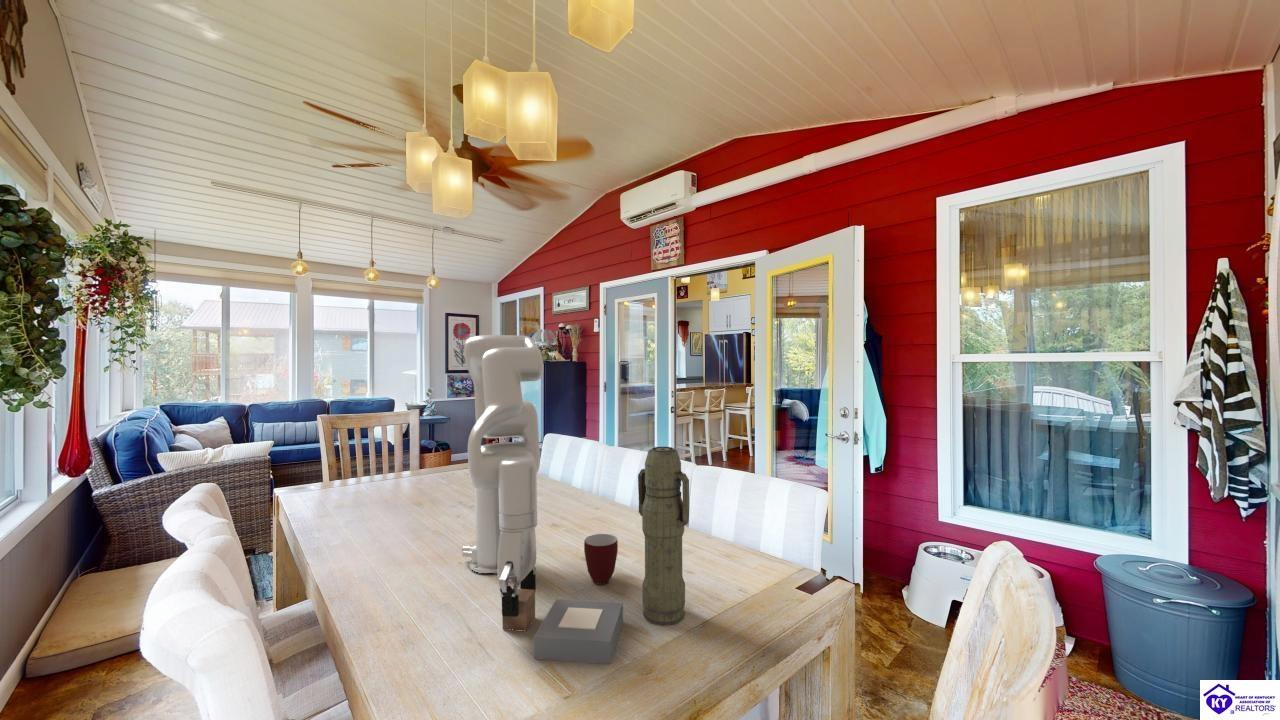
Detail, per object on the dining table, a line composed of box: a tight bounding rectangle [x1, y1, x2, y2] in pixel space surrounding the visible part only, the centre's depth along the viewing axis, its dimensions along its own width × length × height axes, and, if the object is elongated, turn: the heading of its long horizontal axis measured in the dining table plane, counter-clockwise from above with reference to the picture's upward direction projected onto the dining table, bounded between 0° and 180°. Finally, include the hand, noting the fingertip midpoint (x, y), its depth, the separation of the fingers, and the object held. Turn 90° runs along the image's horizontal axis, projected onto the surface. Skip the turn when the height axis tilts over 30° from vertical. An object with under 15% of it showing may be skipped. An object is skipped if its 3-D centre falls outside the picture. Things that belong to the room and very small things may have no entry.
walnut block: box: [502, 587, 536, 632], centre depth 102 cm, size 5×5×6 cm
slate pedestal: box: [533, 598, 624, 665], centre depth 96 cm, size 14×14×4 cm
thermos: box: [637, 446, 690, 626], centre depth 105 cm, size 9×12×35 cm
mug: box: [583, 533, 619, 585], centre depth 122 cm, size 10×8×10 cm
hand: (519, 603), depth 101 cm, fingers open, 9 cm apart
